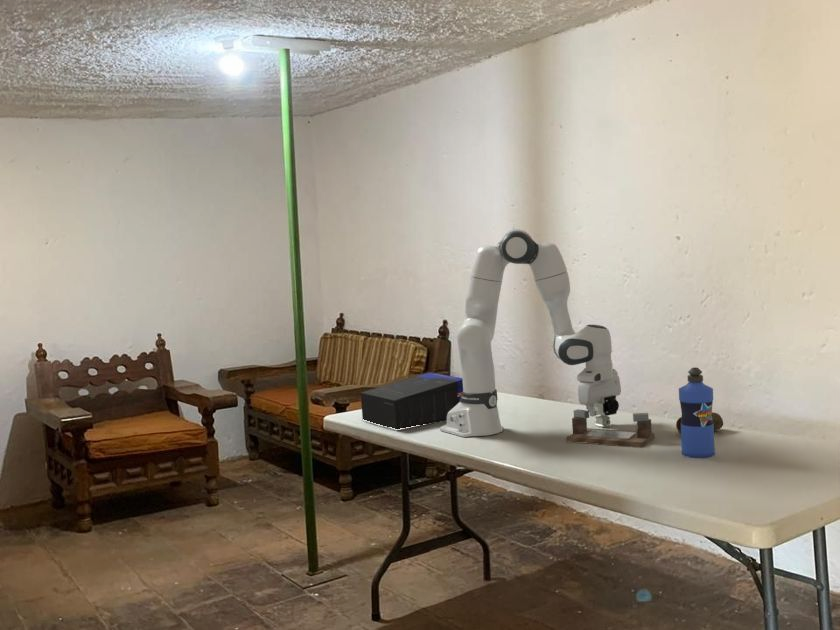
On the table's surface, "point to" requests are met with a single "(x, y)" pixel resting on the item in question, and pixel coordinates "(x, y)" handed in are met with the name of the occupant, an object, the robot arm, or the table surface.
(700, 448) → the water bottle
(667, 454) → the table surface
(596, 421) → the pneumatic valve
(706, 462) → the table surface
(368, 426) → the table surface
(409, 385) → the headphone box
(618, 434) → the grey long bracket
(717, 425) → the brown wooden cylinder
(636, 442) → the shaft rig base
